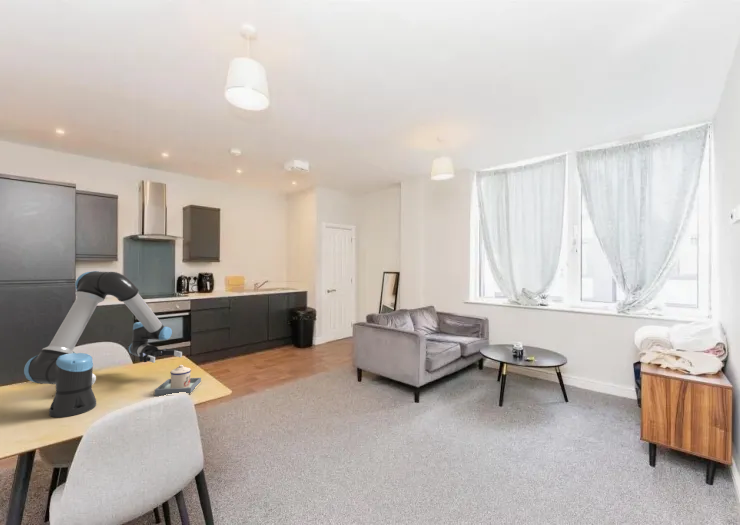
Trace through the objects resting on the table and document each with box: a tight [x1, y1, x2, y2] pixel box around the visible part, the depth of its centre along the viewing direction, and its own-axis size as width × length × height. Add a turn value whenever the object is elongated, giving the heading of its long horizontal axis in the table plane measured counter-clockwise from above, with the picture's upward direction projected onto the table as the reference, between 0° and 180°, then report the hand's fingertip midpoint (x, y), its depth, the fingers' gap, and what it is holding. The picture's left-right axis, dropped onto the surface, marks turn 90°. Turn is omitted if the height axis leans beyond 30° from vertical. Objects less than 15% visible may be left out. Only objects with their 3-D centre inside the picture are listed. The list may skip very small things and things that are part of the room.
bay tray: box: [154, 377, 202, 397], centre depth 167 cm, size 16×16×3 cm
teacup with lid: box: [170, 364, 192, 389], centre depth 168 cm, size 12×9×12 cm
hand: (168, 357), depth 173 cm, fingers open, 13 cm apart
